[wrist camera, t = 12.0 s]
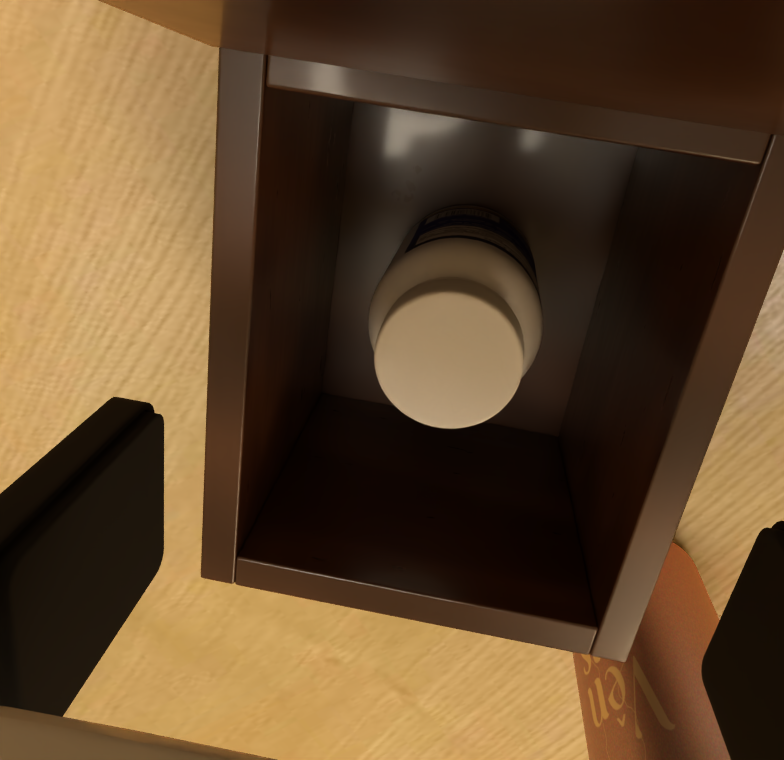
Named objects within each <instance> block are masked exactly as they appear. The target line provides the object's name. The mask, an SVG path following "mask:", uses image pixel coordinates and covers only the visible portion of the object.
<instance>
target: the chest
mask: <svg viewBox="0 0 784 760" xmlns="http://www.w3.org/2000/svg"><path fill="white" fill-rule="evenodd" d="M459 205H471V206H479V207H483V208H487V209H490V210H492V211H495V212H497V213H499V214H500V215H502V216H504V217H505V218H507V219H508V220H509V221H511V222H512V223H513V224H514V225H515V226H516V227H517V228H518V229H519V230H520V232H521V233H522V234H523V236H524V237H525V239H526V240H527V242H528V245H529V247H530V249H531V252H532V255H533V259H534V263H535V269H536V276H537V283H538V289H539V294H540V301H541V306H542V316H543V329H542V337H541V343H540V346H539V349H538V352H537V355H536V357H535V359H534V361H533V363H532V365H531V366H530V368H529V369H528V371H527V372H526V374H525V375H524V376H523V377H522V378H521V380H520V383H519V386H518V388H517V390H516V392H515V394H514V395H513V397H512V399H511V400H510V401H509V402H508V404H507V405H506V406H505V407H504V408H503V409H502V410H501V411H500V412H498V413H497V414H496V415H494V416H493V417H491V418H489V419H488V420H486V421H484V422H482V423H479V424H476V425H473V426H469V427H464V428H456V429H449V428H439V427H432V426H429V425H425V424H423V423H420V422H418V421H416V420H414V419H412V418H410V417H408V416H407V415H405V414H404V413H402V412H401V411H400V410H399V409H398V408H397V407H396V406H395V405H394V404H393V403H392V402H391V401H390V400H389V399H388V397H387V396H386V395H385V393H384V391H383V390H382V388H381V386H380V384H379V381H378V378H377V375H376V371H375V366H374V351H373V348H372V345H371V341H370V336H369V329H368V319H369V309H370V304H371V300H372V297H373V294H374V292H375V290H376V288H377V285H378V283H379V281H380V280H381V278H382V277H383V275H384V273H385V271H386V270H387V268H388V266H389V265H390V263H391V261H392V259H393V258H394V256H395V254H396V252H397V250H398V249H399V247H400V245H401V243H402V242H403V240H404V238H405V237H406V235H407V234H408V233H409V232H410V230H411V229H412V228H413V227H414V226H415V225H416V224H417V223H419V222H420V221H421V220H423V219H424V218H425V217H427V216H428V215H430V214H432V213H434V212H436V211H438V210H441V209H444V208H447V207H452V206H459ZM783 250H784V136H780V135H774V134H767V133H761V132H755V131H748V130H742V129H735V128H729V127H723V126H716V125H710V124H704V123H697V122H691V121H685V120H678V119H672V118H665V117H659V116H653V115H646V114H640V113H634V112H627V111H621V110H615V109H608V108H602V107H595V106H589V105H583V104H576V103H570V102H564V101H557V100H551V99H544V98H538V97H532V96H525V95H519V94H513V93H506V92H500V91H494V90H487V89H481V88H474V87H468V86H462V85H455V84H449V83H443V82H436V81H430V80H424V79H417V78H411V77H404V76H398V75H392V74H385V73H379V72H373V71H366V70H360V69H354V68H347V67H341V66H334V65H328V64H322V63H315V62H309V61H303V60H296V59H290V58H283V57H277V56H271V55H264V54H258V53H252V52H245V51H239V50H233V49H226V48H220V47H219V69H218V97H217V126H216V155H215V183H214V212H213V241H212V269H211V298H210V327H209V355H208V384H207V412H206V441H205V470H204V498H203V527H202V556H201V577H202V578H205V579H210V580H215V581H220V582H225V583H230V584H233V583H234V582H235V583H236V584H237V585H240V586H245V587H250V588H255V589H260V590H265V591H270V592H275V593H280V594H285V595H290V596H295V597H300V598H305V599H310V600H315V601H320V602H325V603H330V604H335V605H340V606H345V607H350V608H355V609H360V610H365V611H370V612H375V613H380V614H385V615H390V616H395V617H400V618H405V619H410V620H415V621H420V622H425V623H431V624H436V625H441V626H446V627H451V628H456V629H461V630H466V631H471V632H476V633H481V634H486V635H491V636H496V637H501V638H506V639H511V640H516V641H521V642H526V643H531V644H536V645H541V646H546V647H551V648H556V649H561V650H566V651H571V652H576V653H581V654H586V655H589V653H590V655H591V656H594V657H599V658H604V659H609V660H614V661H619V662H626V661H627V658H628V655H629V653H630V650H631V647H632V645H633V642H634V640H635V637H636V634H637V632H638V629H639V627H640V624H641V621H642V619H643V616H644V613H645V611H646V608H647V606H648V603H649V600H650V598H651V595H652V592H653V590H654V587H655V585H656V582H657V579H658V577H659V574H660V572H661V569H662V566H663V564H664V561H665V558H666V556H667V553H668V551H669V548H670V545H671V543H672V540H673V538H674V535H675V532H676V530H677V527H678V524H679V522H680V519H681V517H682V514H683V511H684V509H685V506H686V504H687V501H688V498H689V496H690V493H691V490H692V488H693V485H694V483H695V480H696V477H697V475H698V472H699V470H700V467H701V464H702V462H703V459H704V456H705V454H706V451H707V449H708V446H709V443H710V441H711V438H712V435H713V433H714V430H715V428H716V425H717V422H718V420H719V417H720V415H721V412H722V409H723V407H724V404H725V401H726V399H727V396H728V394H729V391H730V388H731V386H732V383H733V381H734V378H735V375H736V373H737V370H738V367H739V365H740V362H741V360H742V357H743V354H744V352H745V349H746V347H747V344H748V341H749V339H750V336H751V333H752V331H753V328H754V326H755V323H756V320H757V318H758V315H759V313H760V310H761V307H762V305H763V302H764V299H765V297H766V294H767V292H768V289H769V286H770V284H771V281H772V278H773V276H774V273H775V271H776V268H777V265H778V263H779V260H780V258H781V255H782V252H783Z"/></svg>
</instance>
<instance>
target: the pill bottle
mask: <svg viewBox="0 0 784 760" xmlns="http://www.w3.org/2000/svg"><path fill="white" fill-rule="evenodd" d="M368 329H369V336H370V341H371V345H372V348H373V351H374V366H375V371H376V375H377V378H378V381H379V384H380V386H381V388H382V390H383V391H384V393H385V395H386V396H387V397H388V399H389V400H390V401H391V402H392V403H393V404H394V405H395V406H396V407H397V408H398V409H399V410H400V411H401V412H402V413H404V414H405V415H407V416H408V417H410V418H412V419H414V420H416V421H418V422H420V423H423V424H425V425H429V426H432V427H439V428H449V429H456V428H464V427H469V426H473V425H476V424H479V423H482V422H484V421H486V420H488V419H489V418H491V417H493V416H494V415H496V414H497V413H498V412H500V411H501V410H502V409H503V408H504V407H505V406H506V405H507V404H508V402H509V401H510V400H511V399H512V397H513V395H514V394H515V392H516V390H517V388H518V386H519V383H520V380H521V378H522V377H523V376H524V375H525V374H526V372H527V371H528V369H529V368H530V366H531V365H532V363H533V361H534V359H535V357H536V355H537V352H538V349H539V346H540V343H541V337H542V329H543V316H542V306H541V301H540V294H539V289H538V283H537V276H536V269H535V263H534V259H533V255H532V252H531V249H530V247H529V245H528V242H527V240H526V239H525V237H524V236H523V234H522V233H521V232H520V230H519V229H518V228H517V227H516V226H515V225H514V224H513V223H512V222H511V221H509V220H508V219H507V218H505V217H504V216H502V215H500V214H499V213H497V212H495V211H492V210H490V209H487V208H483V207H479V206H471V205H459V206H452V207H447V208H444V209H441V210H438V211H436V212H434V213H432V214H430V215H428V216H427V217H425V218H424V219H423V220H421V221H420V222H419V223H417V224H416V225H415V226H414V227H413V228H412V229H411V230H410V232H409V233H408V234H407V235H406V237H405V238H404V240H403V242H402V243H401V245H400V247H399V249H398V250H397V252H396V254H395V256H394V258H393V259H392V261H391V263H390V265H389V266H388V268H387V270H386V271H385V273H384V275H383V277H382V278H381V280H380V281H379V283H378V285H377V288H376V290H375V292H374V294H373V297H372V300H371V304H370V309H369V319H368Z"/></svg>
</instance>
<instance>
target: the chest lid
mask: <svg viewBox="0 0 784 760" xmlns="http://www.w3.org/2000/svg"><path fill="white" fill-rule="evenodd" d="M99 1H101V2H104V3H106V4H109V5H111V6H114V7H116V8H119V9H121V10H123V11H126V12H128V13H131V14H133V15H136V16H138V17H141V18H143V19H146V20H148V21H151V22H153V23H156V24H158V25H161V26H163V27H165V28H168V29H170V30H173V31H175V32H178V33H180V34H183V35H185V36H188V37H190V38H193V39H195V40H198V41H200V42H202V43H205V44H207V45H210V46H213V47H220V48H226V49H233V50H239V51H245V52H252V53H258V54H264V55H271V56H277V57H283V58H290V59H296V60H303V61H309V62H315V63H322V64H328V65H334V66H341V67H347V68H354V69H360V70H366V71H373V72H379V73H385V74H392V75H398V76H404V77H411V78H417V79H424V80H430V81H436V82H443V83H449V84H455V85H462V86H468V87H474V88H481V89H487V90H494V91H500V92H506V93H513V94H519V95H525V96H532V97H538V98H544V99H551V100H557V101H564V102H570V103H576V104H583V105H589V106H595V107H602V108H608V109H615V110H621V111H627V112H634V113H640V114H646V115H653V116H659V117H665V118H672V119H678V120H685V121H691V122H697V123H704V124H710V125H716V126H723V127H729V128H735V129H742V130H748V131H755V132H761V133H767V134H774V135H780V136H784V0H99Z"/></svg>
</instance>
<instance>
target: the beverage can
mask: <svg viewBox="0 0 784 760" xmlns="http://www.w3.org/2000/svg"><path fill="white" fill-rule="evenodd" d="M719 621H720V620H719V618H718V616H717V613H716V611H715V609H714V606H713V604H712V602H711V600H710V597H709V595H708V593H707V591H706V588H705V586H704V584H703V581H702V579H701V577H700V575H699V572H698V570H697V568H696V566H695V564H694V562H693V560H692V559H691V558H690V556H689V555H688V554H687V553H686V552H685V551H684V550H683V549H682V548H680V547H679V546H678V545H676V544H675V543H673V542H672V543H671V545H670V548H669V551H668V553H667V556H666V558H665V561H664V564H663V566H662V569H661V572H660V574H659V577H658V579H657V582H656V585H655V587H654V590H653V592H652V595H651V598H650V600H649V603H648V606H647V608H646V611H645V613H644V616H643V619H642V621H641V624H640V627H639V629H638V632H637V634H636V637H635V640H634V642H633V645H632V647H631V650H630V653H629V655H628V658H627V661H626V662H619V661H614V660H609V659H604V658H599V657H594V656H591V655H590V653H589V655H586V654H581V653H576V652H573V658H574V664H575V671H576V677H577V684H578V690H579V696H580V703H581V709H582V716H583V722H584V729H585V735H586V741H587V748H588V754H589V760H731V759H730V756H729V753H728V750H727V748H726V745H725V742H724V739H723V737H722V734H721V731H720V728H719V725H718V723H717V720H716V717H715V714H714V712H713V709H712V706H711V703H710V701H709V698H708V695H707V692H706V690H705V687H704V684H703V680H702V674H701V667H702V660H703V657H704V654H705V652H706V650H707V648H708V645H709V643H710V641H711V639H712V636H713V634H714V632H715V630H716V628H717V625H718V623H719Z"/></svg>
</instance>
